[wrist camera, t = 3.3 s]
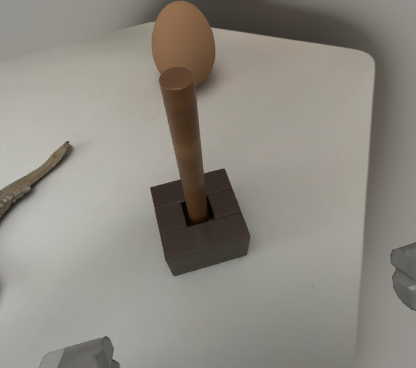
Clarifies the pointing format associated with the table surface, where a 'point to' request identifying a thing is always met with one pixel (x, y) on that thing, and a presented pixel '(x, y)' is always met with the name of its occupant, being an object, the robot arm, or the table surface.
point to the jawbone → (29, 179)
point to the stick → (186, 137)
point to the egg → (183, 40)
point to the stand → (200, 225)
